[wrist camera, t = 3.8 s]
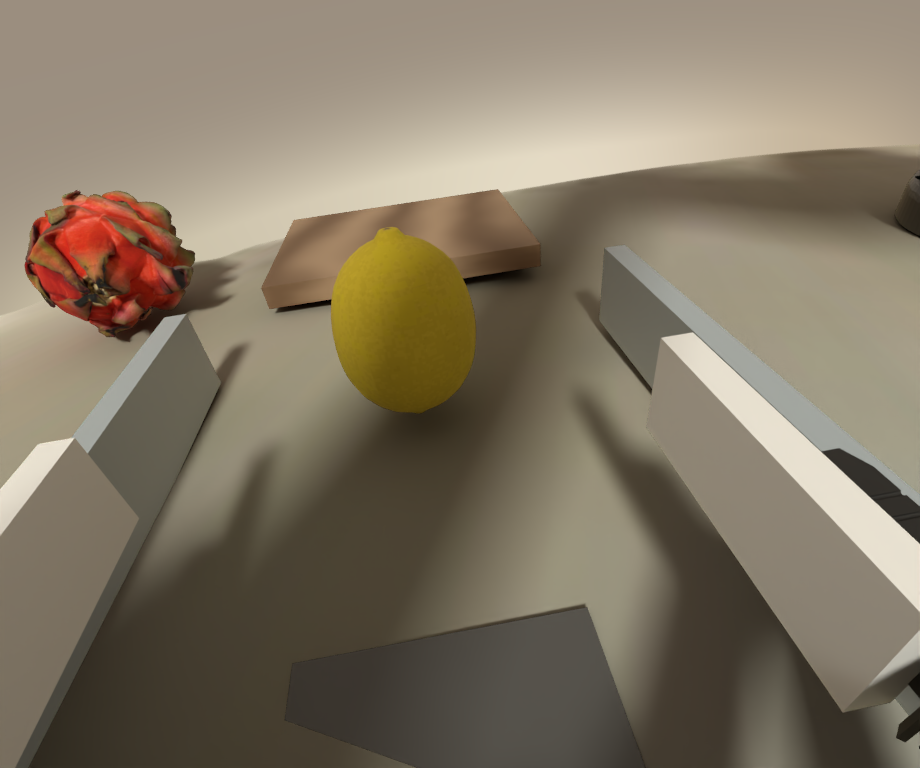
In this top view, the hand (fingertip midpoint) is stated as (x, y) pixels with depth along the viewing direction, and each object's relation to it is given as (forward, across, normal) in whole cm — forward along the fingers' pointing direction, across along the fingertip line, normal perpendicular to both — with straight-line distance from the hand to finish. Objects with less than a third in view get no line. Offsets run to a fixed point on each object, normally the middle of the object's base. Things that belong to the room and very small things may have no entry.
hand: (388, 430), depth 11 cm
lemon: (+8, 0, -6) cm, 10 cm away
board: (+28, 0, -6) cm, 28 cm away
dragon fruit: (+23, -18, -6) cm, 29 cm away
